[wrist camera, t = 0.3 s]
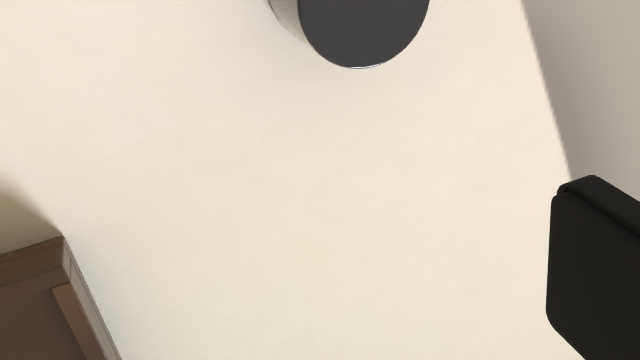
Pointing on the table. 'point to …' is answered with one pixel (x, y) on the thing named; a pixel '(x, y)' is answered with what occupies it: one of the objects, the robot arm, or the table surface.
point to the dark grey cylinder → (353, 27)
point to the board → (49, 307)
